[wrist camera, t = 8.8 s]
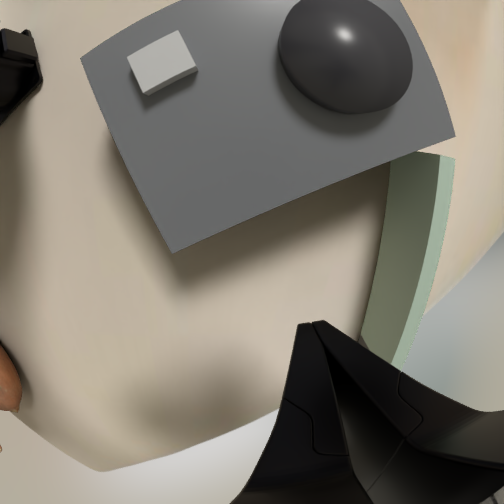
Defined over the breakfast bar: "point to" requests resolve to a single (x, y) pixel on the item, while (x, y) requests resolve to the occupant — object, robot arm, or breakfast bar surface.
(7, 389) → the ceramic jug
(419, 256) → the side door
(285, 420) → the robot arm
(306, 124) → the camera case
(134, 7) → the breakfast bar surface
